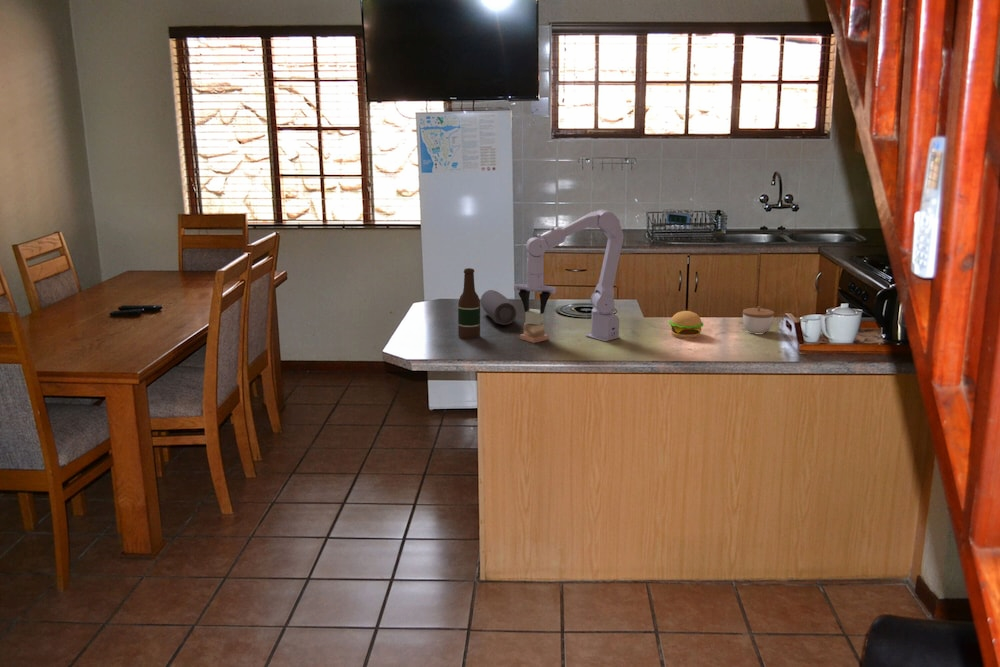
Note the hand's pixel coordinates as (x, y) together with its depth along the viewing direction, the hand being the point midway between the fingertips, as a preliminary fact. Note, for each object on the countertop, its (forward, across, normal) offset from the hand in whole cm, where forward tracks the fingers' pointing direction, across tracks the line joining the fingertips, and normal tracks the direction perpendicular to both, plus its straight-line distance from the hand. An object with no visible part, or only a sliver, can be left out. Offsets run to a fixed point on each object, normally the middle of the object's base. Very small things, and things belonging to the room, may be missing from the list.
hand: (534, 312), depth 306 cm
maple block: (+8, 0, 0) cm, 8 cm away
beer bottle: (+10, +22, +6) cm, 25 cm away
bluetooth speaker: (+10, +21, -20) cm, 31 cm away
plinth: (+10, 0, 0) cm, 10 cm away
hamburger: (+10, -48, -25) cm, 55 cm away
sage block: (+4, 0, 0) cm, 4 cm away
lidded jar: (+10, -70, -39) cm, 81 cm away
